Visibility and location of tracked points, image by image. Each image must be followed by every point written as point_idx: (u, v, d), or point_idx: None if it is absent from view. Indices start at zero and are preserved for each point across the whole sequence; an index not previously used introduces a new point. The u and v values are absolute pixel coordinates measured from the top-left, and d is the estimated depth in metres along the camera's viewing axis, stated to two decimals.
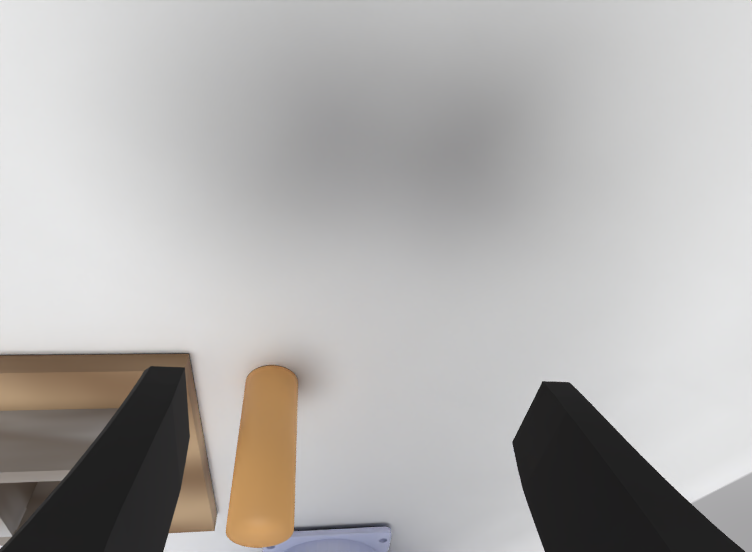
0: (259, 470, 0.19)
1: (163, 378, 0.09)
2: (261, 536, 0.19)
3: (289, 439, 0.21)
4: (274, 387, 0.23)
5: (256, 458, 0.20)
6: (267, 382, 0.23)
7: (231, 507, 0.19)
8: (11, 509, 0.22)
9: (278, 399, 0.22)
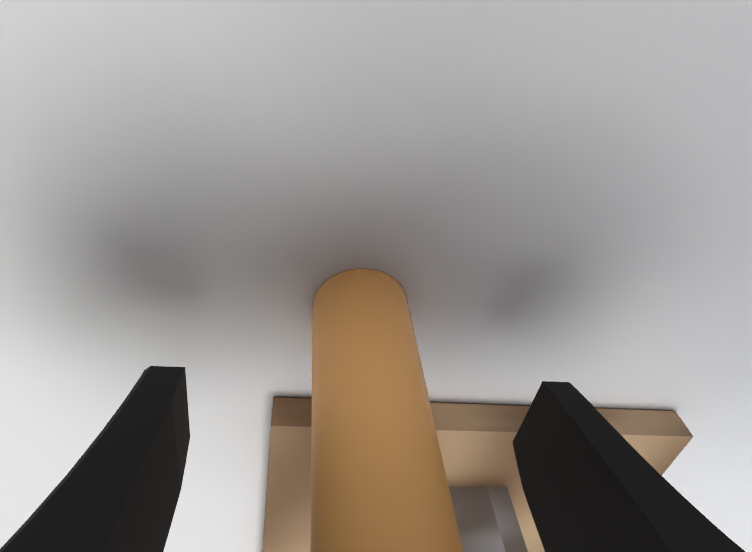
0: None
1: (163, 378, 0.09)
2: None
3: (342, 392, 0.10)
4: (315, 332, 0.12)
5: None
6: (312, 334, 0.12)
7: None
8: None
9: (316, 345, 0.11)
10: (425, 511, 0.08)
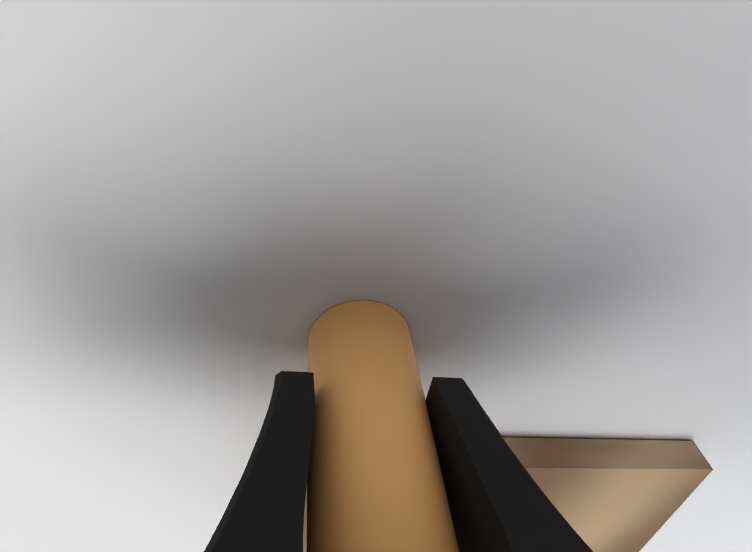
0: None
1: (299, 382, 0.09)
2: None
3: (341, 448, 0.09)
4: (311, 371, 0.11)
5: None
6: None
7: None
8: None
9: None
10: None
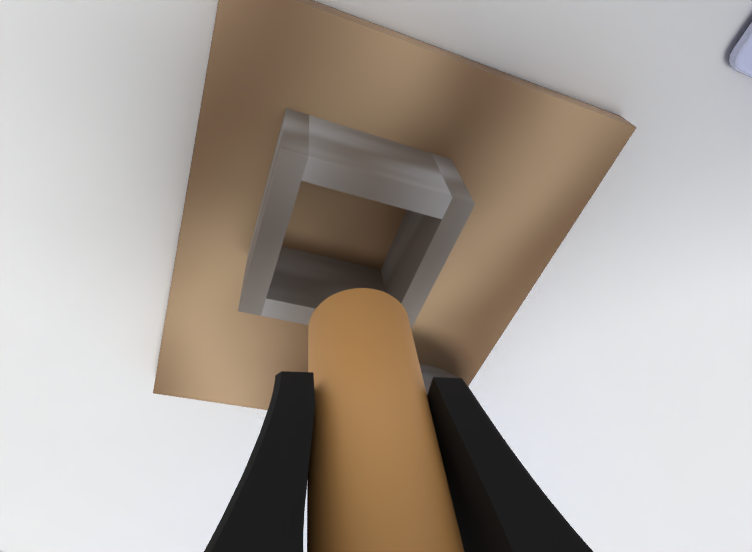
0: None
1: (297, 382, 0.09)
2: None
3: (337, 429, 0.09)
4: (310, 360, 0.11)
5: None
6: (308, 362, 0.11)
7: None
8: None
9: None
10: None
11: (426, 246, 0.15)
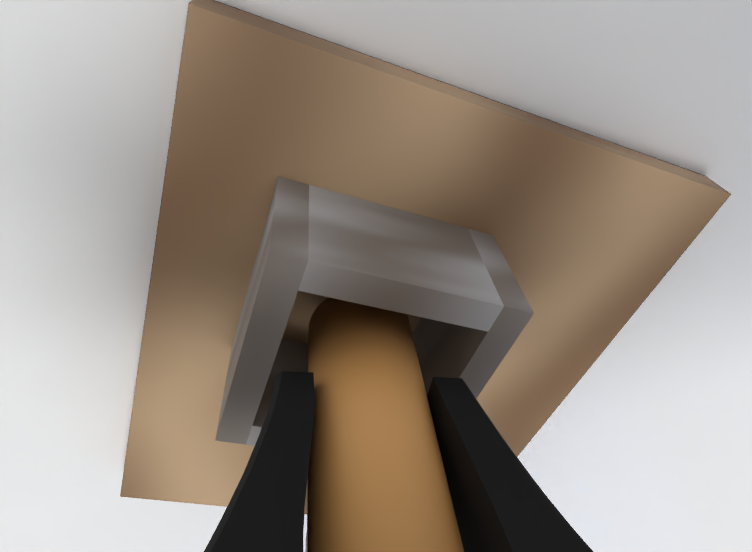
0: None
1: (298, 382, 0.09)
2: None
3: (337, 429, 0.09)
4: (310, 360, 0.11)
5: None
6: (308, 362, 0.11)
7: None
8: None
9: None
10: None
11: (464, 361, 0.11)
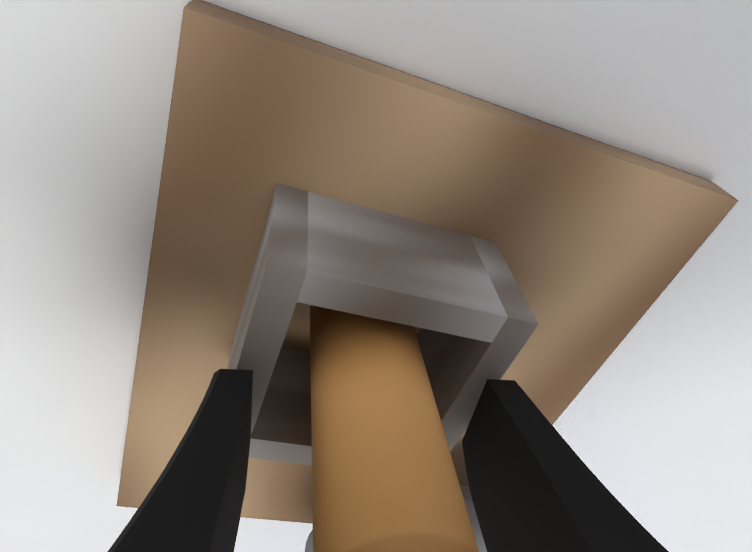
0: (312, 490, 0.09)
1: (234, 381, 0.09)
2: None
3: (338, 372, 0.10)
4: (312, 325, 0.12)
5: None
6: None
7: None
8: None
9: (314, 336, 0.11)
10: (425, 475, 0.08)
11: (467, 372, 0.11)
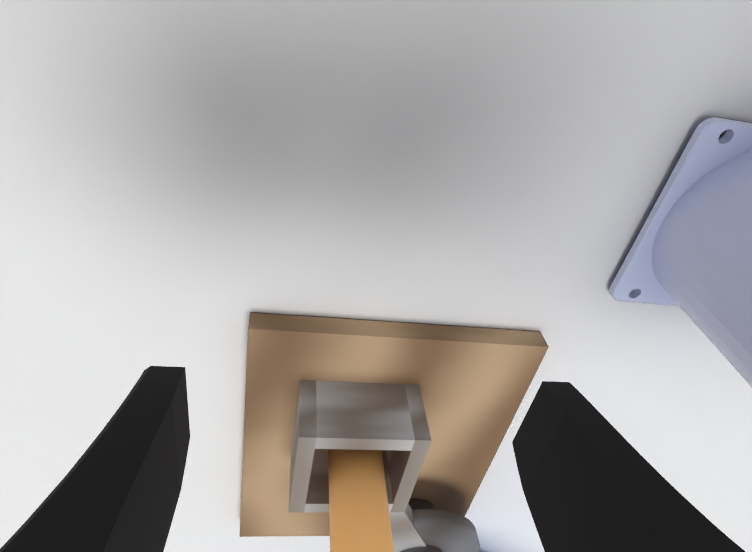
0: None
1: (163, 378, 0.09)
2: None
3: (337, 480, 0.21)
4: None
5: None
6: None
7: None
8: None
9: (328, 452, 0.23)
10: (369, 533, 0.19)
11: (405, 462, 0.22)
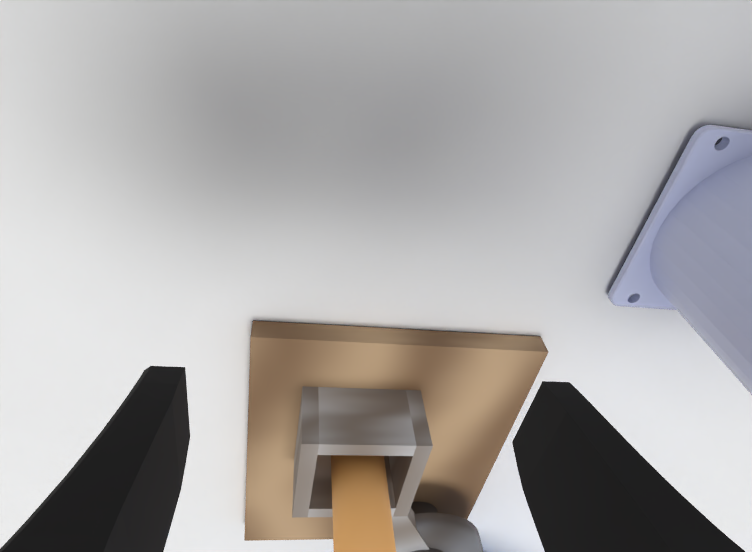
0: None
1: (163, 378, 0.09)
2: None
3: (340, 486, 0.21)
4: None
5: None
6: None
7: None
8: None
9: (331, 458, 0.23)
10: (372, 538, 0.19)
11: (407, 467, 0.22)
